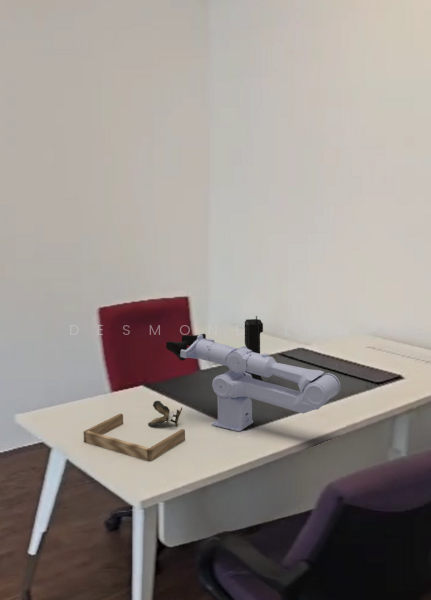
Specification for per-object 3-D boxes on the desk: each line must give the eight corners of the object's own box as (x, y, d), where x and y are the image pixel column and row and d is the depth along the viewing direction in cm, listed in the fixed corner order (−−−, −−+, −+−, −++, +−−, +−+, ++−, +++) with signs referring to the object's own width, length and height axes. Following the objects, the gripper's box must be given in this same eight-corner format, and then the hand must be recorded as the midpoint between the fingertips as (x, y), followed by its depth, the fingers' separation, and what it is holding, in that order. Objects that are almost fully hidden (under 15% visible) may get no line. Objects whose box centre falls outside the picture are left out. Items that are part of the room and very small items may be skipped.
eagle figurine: (182, 415, 193) (153, 408, 195) (182, 401, 188) (152, 393, 190) (175, 436, 188) (145, 429, 190) (174, 423, 183) (143, 415, 185)
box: (185, 440, 179) (184, 429, 178) (150, 461, 166) (150, 450, 166) (120, 423, 191) (120, 413, 190) (84, 441, 179) (83, 431, 178)
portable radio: (242, 383, 223) (241, 311, 218) (259, 382, 223) (259, 310, 218) (245, 391, 215) (244, 317, 210) (263, 390, 216) (263, 316, 210)
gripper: (227, 333, 193) (189, 323, 200) (199, 344, 181) (160, 334, 188) (226, 355, 195) (188, 345, 202) (198, 369, 183) (159, 357, 190)
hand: (174, 341), depth 195 cm, fingers open, 7 cm apart
